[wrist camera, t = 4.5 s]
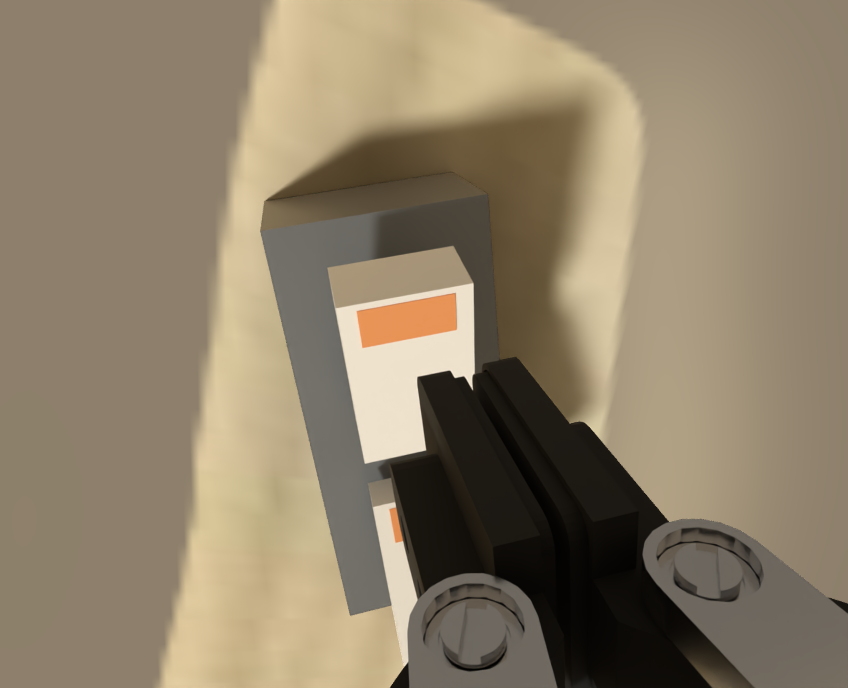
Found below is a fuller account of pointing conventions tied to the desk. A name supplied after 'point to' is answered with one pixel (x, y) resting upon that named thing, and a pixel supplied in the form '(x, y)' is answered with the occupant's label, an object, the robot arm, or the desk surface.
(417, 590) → the robot arm
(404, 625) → the rocker
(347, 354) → the rocker
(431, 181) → the rocker switch panel
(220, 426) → the desk surface
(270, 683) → the desk surface
